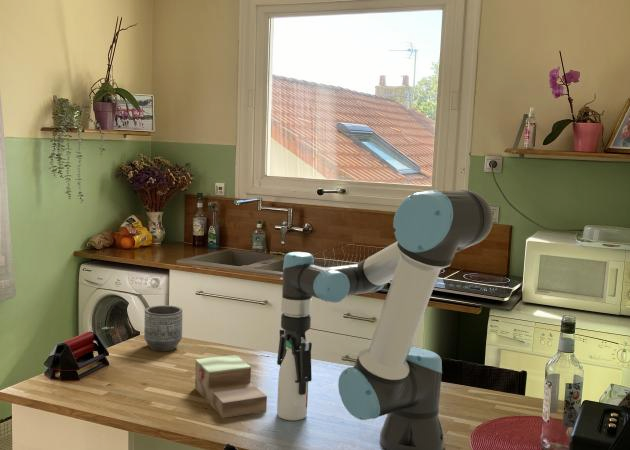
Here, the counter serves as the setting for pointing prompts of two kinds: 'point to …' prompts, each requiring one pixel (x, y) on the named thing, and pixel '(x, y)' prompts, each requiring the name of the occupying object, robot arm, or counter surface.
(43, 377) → the counter surface
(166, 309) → the planter
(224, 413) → the plinth
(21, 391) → the counter surface
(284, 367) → the milk bottle
